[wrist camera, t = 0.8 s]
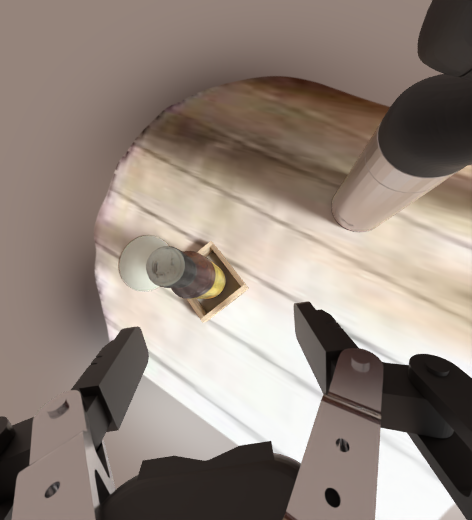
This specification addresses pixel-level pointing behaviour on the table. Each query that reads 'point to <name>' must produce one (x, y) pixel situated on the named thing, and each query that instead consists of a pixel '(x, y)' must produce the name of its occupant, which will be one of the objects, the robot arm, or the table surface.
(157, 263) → the sauce bottle
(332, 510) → the robot arm
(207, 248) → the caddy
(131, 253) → the trivet
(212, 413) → the table surface
